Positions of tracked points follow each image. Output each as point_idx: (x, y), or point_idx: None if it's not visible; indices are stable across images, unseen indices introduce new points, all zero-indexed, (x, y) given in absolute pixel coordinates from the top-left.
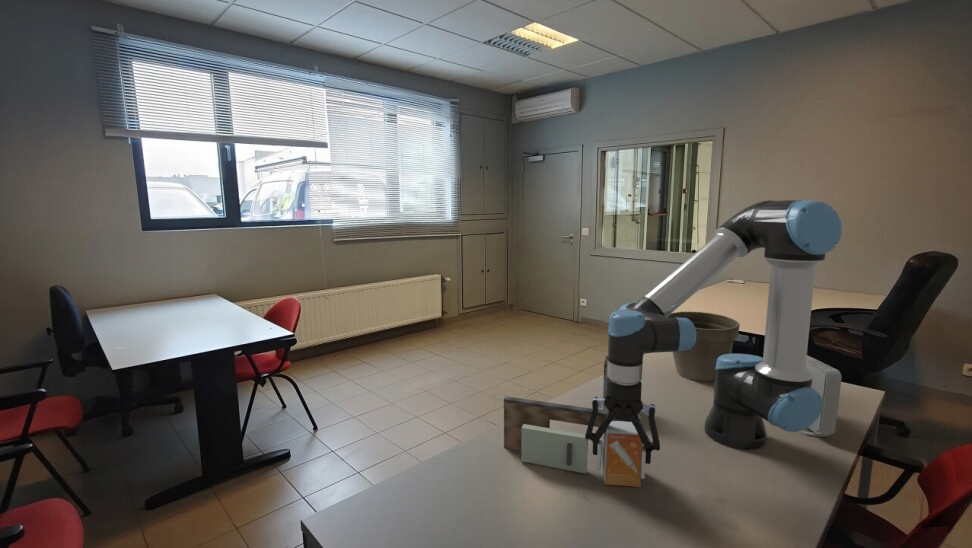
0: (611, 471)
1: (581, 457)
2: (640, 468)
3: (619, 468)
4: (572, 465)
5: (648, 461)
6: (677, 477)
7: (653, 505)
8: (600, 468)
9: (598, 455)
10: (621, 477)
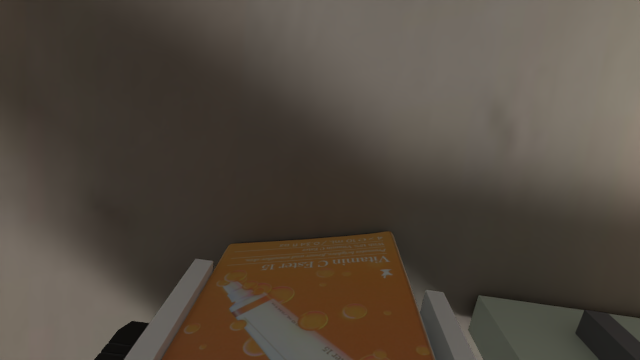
0: (371, 270)
1: (546, 358)
2: (200, 299)
3: (326, 284)
4: (562, 323)
5: (130, 334)
6: (69, 336)
7: (176, 123)
8: (422, 307)
9: (467, 357)
10: (314, 257)
